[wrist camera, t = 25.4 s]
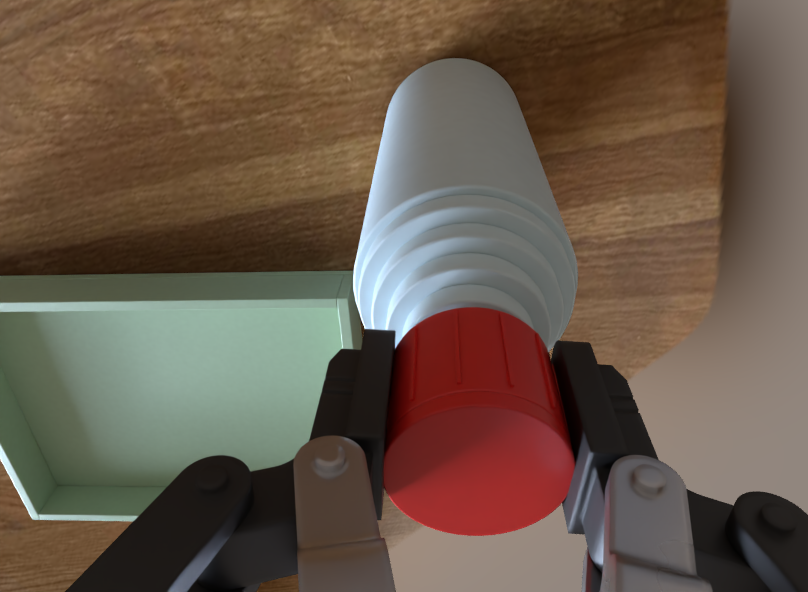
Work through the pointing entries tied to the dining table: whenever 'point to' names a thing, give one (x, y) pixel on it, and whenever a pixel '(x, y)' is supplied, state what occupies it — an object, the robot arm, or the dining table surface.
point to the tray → (159, 379)
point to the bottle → (461, 210)
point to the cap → (476, 425)
